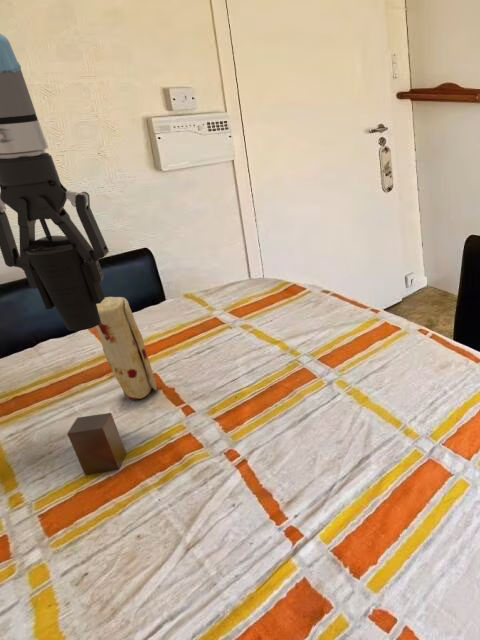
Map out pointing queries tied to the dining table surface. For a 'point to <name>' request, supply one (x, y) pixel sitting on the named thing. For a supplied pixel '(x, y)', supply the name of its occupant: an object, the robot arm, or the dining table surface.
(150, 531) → the dining table surface
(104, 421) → the block
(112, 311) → the food model
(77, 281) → the drinking cup
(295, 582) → the dining table surface
